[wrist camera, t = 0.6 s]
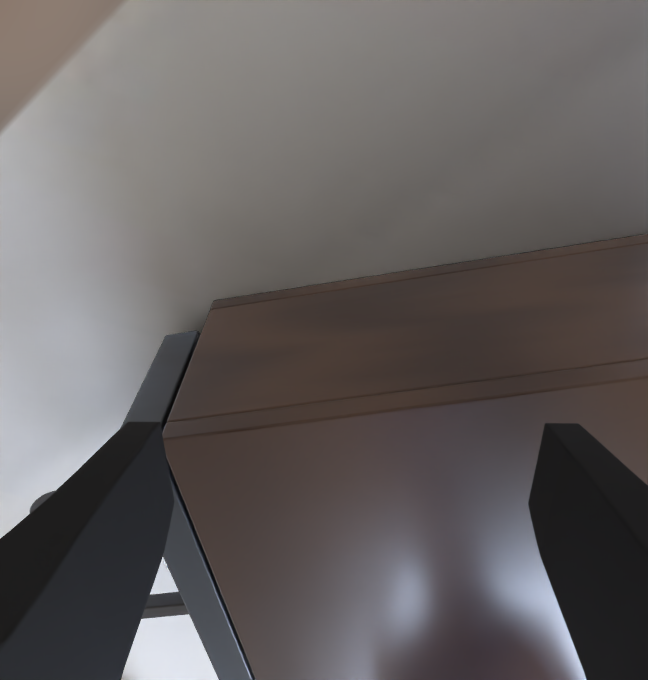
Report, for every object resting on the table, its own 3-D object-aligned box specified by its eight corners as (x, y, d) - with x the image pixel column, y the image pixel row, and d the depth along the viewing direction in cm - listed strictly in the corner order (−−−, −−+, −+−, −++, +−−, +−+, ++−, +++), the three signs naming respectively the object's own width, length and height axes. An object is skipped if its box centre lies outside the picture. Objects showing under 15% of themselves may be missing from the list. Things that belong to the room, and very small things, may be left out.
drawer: (152, 599, 28) (112, 731, 23) (32, 354, 21) (-60, 467, 17) (565, 557, 26) (618, 693, 21) (572, 273, 19) (651, 374, 15)
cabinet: (296, 577, 28) (284, 752, 22) (213, 299, 21) (158, 440, 15) (623, 544, 27) (712, 722, 20) (652, 232, 20) (802, 356, 13)
